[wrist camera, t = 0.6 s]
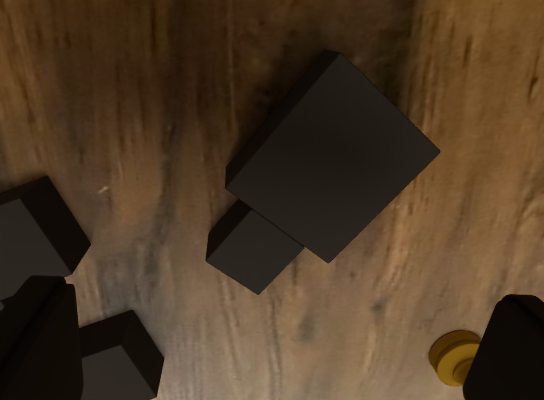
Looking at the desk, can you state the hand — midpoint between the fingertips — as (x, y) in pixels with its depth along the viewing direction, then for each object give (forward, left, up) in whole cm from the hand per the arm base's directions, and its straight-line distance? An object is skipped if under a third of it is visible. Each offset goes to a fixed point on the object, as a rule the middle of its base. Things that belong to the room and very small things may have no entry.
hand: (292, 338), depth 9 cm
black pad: (+2, +2, -14) cm, 14 cm away
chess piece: (+19, +8, -14) cm, 25 cm away
